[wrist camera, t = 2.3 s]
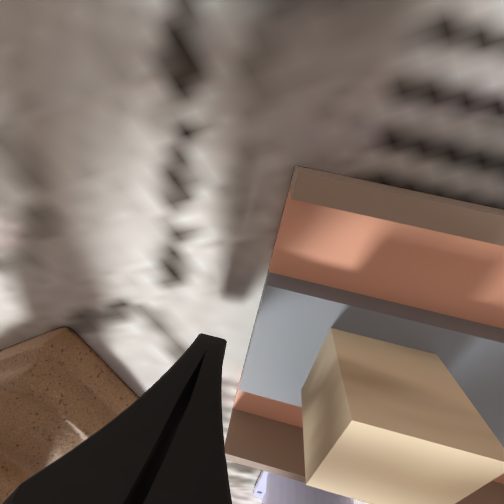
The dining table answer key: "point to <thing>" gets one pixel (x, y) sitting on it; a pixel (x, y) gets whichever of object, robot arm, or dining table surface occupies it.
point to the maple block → (392, 426)
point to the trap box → (371, 304)
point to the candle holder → (52, 402)
